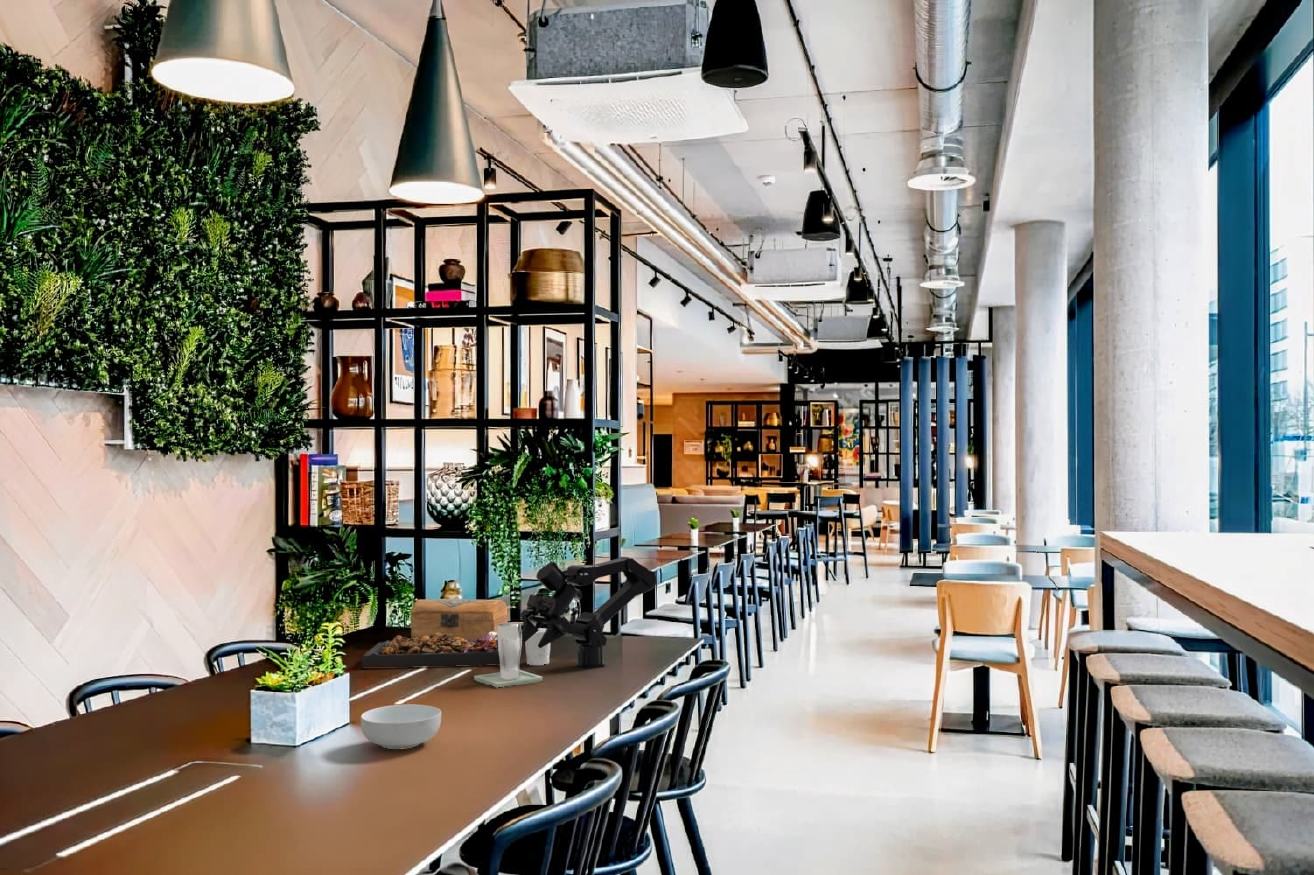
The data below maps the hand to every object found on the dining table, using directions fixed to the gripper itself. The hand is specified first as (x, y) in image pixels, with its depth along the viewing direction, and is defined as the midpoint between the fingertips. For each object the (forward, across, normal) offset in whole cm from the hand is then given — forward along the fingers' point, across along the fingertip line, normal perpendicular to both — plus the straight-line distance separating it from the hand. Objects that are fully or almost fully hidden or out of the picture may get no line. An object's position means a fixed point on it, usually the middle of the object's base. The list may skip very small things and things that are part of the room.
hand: (529, 645), depth 303 cm
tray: (+12, 0, +1) cm, 12 cm away
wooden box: (-8, -72, +21) cm, 75 cm away
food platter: (+9, -42, +5) cm, 43 cm away
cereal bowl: (+50, +41, -38) cm, 75 cm away
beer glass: (+11, 0, +1) cm, 11 cm away
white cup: (-3, -15, +16) cm, 22 cm away
